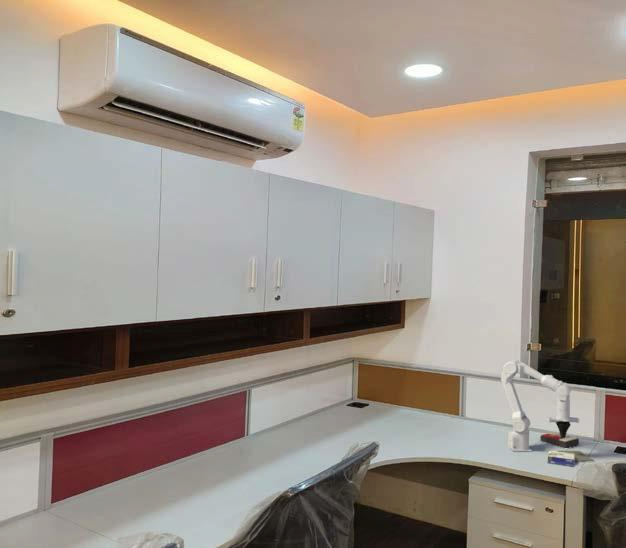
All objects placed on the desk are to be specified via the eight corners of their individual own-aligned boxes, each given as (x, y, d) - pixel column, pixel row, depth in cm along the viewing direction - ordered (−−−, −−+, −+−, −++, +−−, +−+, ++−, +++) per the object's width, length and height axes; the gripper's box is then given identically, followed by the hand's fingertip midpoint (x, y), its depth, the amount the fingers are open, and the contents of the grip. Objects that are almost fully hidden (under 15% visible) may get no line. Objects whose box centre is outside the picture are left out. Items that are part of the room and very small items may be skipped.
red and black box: (553, 431, 300) (579, 437, 287) (553, 439, 300) (579, 445, 287) (539, 434, 294) (565, 440, 282) (540, 442, 294) (566, 449, 282)
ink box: (574, 453, 265) (574, 461, 255) (574, 458, 265) (574, 466, 255) (548, 449, 270) (547, 458, 260) (548, 454, 270) (547, 463, 260)
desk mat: (571, 461, 262) (571, 460, 262) (557, 451, 276) (557, 450, 276) (594, 461, 262) (594, 460, 262) (579, 452, 276) (579, 450, 276)
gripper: (551, 410, 265) (551, 439, 265) (582, 411, 265) (581, 439, 265) (545, 407, 272) (545, 435, 272) (575, 407, 272) (574, 435, 272)
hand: (562, 437), depth 269 cm, fingers closed
